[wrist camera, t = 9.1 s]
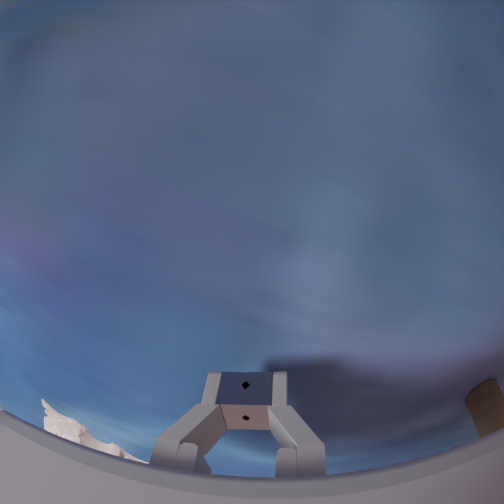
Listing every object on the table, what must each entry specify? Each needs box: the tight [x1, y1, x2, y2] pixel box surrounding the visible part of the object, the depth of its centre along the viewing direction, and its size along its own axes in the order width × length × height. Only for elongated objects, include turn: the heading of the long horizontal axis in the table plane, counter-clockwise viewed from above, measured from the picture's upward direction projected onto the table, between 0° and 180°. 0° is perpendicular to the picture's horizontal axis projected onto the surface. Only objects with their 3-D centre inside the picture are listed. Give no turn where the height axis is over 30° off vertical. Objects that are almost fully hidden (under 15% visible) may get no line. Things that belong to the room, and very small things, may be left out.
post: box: [466, 379, 504, 438], centre depth 10 cm, size 3×3×8 cm
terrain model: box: [42, 398, 149, 464], centre depth 22 cm, size 17×23×5 cm
